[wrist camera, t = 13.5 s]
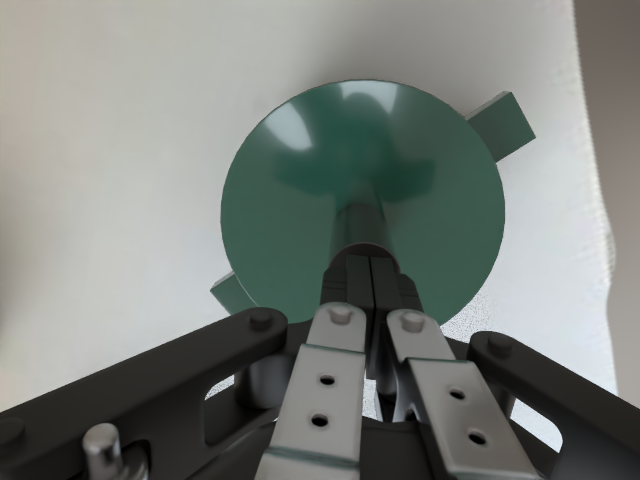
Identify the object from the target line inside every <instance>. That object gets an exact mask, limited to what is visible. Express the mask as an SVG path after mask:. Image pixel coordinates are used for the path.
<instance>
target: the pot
mask: <svg viewBox="0 0 640 480" xmlns="http://www.w3.org/2000/svg"><path fill="white" fill-rule="evenodd" d="M464 118H465V119H466V120H467V121H468V122H469V123H470V124H471V126H472V127H473V128H474V129H475V130H476V131H477V132H478V134H479V135H480V137H481V138H482V140H483V141H484V142H485V144H486V145H487V147H488V149H489V151H490V153H491V155H492V157H493V159H494V161H495V163H496V162H498V161H499V160H501V159H503V158H504V157H506V156H507V155H509V154H511V153H512V152H514V151H516V150H517V149H519V148H520V147H522V146H524V145H525V144H527V143H528V142H530V141H532V140H533V139H535V138H536V136H535V134H534V133H533V131H532V129H531V127H530V125H529V123H528V121H527V119H526V118H525V116H524V114H523V112H522V110H521V108H520V106H519V104H518V102H517V101H516V99H515V97H514V95H513V93H512V92H507V91H503V92H502V93H500V94H499V95H497V96H496V97H494V98H493V99H491V100H490V101H488V102H487V103H485V104H484V105H482V106H481V107H479V108H478V109H476V110H474V111H473V112H471V113H470V114H468V115H467V116H465V117H464ZM210 292H211V293H212V294H213V295H214V296H215V298H216V299H217V300H218V301H219V302H220V303H221V305H222V306H223V307H224V308H225V309H226V310H227V312H228V313H229V314H230V315H233V314H236V313H238V312H241V311H243V310H246V309H249V308H254V307H258V306H257V305H256V304H255V303H254V302H253V301H252V300H251V299H250V297H249V296H248V295H247V293H246V292H245V290H244V289H243V288H242V286H241V285H240V283H239V281H238V279H237V278H236V276H235V274H234V272H233V271H232V272H230V273H229V274H227V275H226V276H224V277H223V278H221V279H220V280H218V281H217V282H215V283H214V285H213V286H212V288H211V289H210Z"/></svg>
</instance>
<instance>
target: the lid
mask: <svg viewBox="0 0 640 480" xmlns="http://www.w3.org/2000/svg"><path fill="white" fill-rule="evenodd" d="M220 222H221V231H222V239H223V243H224V247H225V251H226V255H227V258H228V260H229V263H230V265H231V268H232V270H233V272H234V274H235V276H236V278H237V279H238V281H239V283H240V285H241V286H242V288H243V289H244V290H245V292H246V293H247V295H248V296H249V297H250V299H251V300H252V301H253V302H254V303H255V304H256V305H257V306H258V307H267V308H273V309H276V310H278V311H280V312H282V313H283V314H285V315H286V317H287V319H288V324H290V323H300V322H304V321H307V320H310V319H312V318H313V317H314V315H315V311H316V309H317V308H318V307H319V305H320V297H321V289H322V281H323V274H324V272H325V271H326V270H327V269H328V268H330V267H340V268H345V266H346V258H347V254H348V255H358V256H368V258H369V257H379V258H389V259H391V260H392V264H393V268H394V272H395V273H400V274H406V275H407V276H408V277H410V278H411V279H412V280H413V281H414V283H415V286H416V289H417V292H418V295H419V298H420V301H421V304H422V307H423V310H424V313H425V314H428V315H429V316H431V317H432V318H434V319H435V320H436V322H437V323H438V325H439V326H441V325H443V324H444V323H446V322H447V321H449V320H450V319H451V318H452V317H454V316H455V315H456V314H457V313H459V312H460V311H461V310H462V309H463V308H464V307H465V306H466V305H467V304H468V303H469V302H470V301H471V300H472V299H473V297H474V296H475V295H476V293H477V292H478V291H479V290H480V288H481V287H482V285H483V284H484V282H485V280H486V279H487V277H488V275H489V274H490V272H491V270H492V268H493V265H494V263H495V261H496V258H497V256H498V253H499V249H500V245H501V242H502V238H503V231H504V224H505V199H504V193H503V186H502V181H501V178H500V175H499V172H498V169H497V165H496V163H495V161H494V159H493V157H492V155H491V153H490V151H489V149H488V147H487V145H486V144H485V142H484V141H483V140H482V138H481V137H480V135H479V134H478V132H477V131H476V130H475V129H474V128H473V127H472V126H471V124H470V123H469V122H468V121H467V120H466V119H465V118H464V117H463V116H462V115H460V114H459V113H458V112H457V111H456V110H454V109H453V108H452V107H451V106H449V105H448V104H446V103H445V102H443V101H441V100H440V99H438V98H436V97H435V96H433V95H431V94H429V93H427V92H424V91H422V90H419V89H417V88H415V87H412V86H409V85H405V84H401V83H397V82H393V81H385V80H376V79H350V80H344V81H338V82H332V83H328V84H325V85H322V86H318V87H315V88H312V89H309V90H307V91H305V92H303V93H301V94H299V95H297V96H294V97H292V98H291V99H289V100H288V101H286V102H284V103H283V104H281V105H280V106H278V107H277V108H275V109H274V110H273V111H272V112H271V113H269V114H268V115H267V116H266V117H265V118H264V119H263V120H261V121H260V122H259V123H258V125H257V126H256V127H255V128H254V129H253V130H252V132H251V133H250V134H249V135H248V136H247V138H246V139H245V141H244V142H243V144H242V145H241V147H240V148H239V150H238V151H237V153H236V155H235V157H234V160H233V162H232V164H231V166H230V168H229V171H228V174H227V177H226V181H225V184H224V188H223V194H222V200H221V220H220Z"/></svg>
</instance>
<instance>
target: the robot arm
mask: <svg viewBox="0 0 640 480" xmlns="http://www.w3.org/2000/svg"><path fill="white" fill-rule="evenodd" d="M365 368H366V379H371V380H376V389H375V395H374V405H375V410H376V415H377V420H375V419H372V418H368V417H365V416H362V405H363V389H364V374H365ZM232 375H234V384H233V385H231V386H229V387H228V388H226V389H224V390H222V391H221V392H219V393H217V394H215V395H213V396H212V397H210V398H208V399H206V400H205V397H206V395H207V393H208V392H209V390H210V389H211V388H212V387H213V386H214V385H216V384H217V383H219V382H221V381H223V380H224V379H226V378H228V377H230V376H232ZM516 398H517V399H519V400H520V401H522V402H523V403H525V404H526V405H528V406H529V407H531V408H532V409H534V410H535V411H537V412H538V413H540V414H541V415H543V416H544V417H545V418H547V419H548V420H550V421H551V422H553V423H554V424H555V425H556V427H557V428H558V429H559V431H560V433H561V435H562V439H563V443H562V447H561V449H560V452H559V453H557V452H556V451H555V450H553V449H552V448H550V447H549V446H548V445H546V444H545V443H544V442H542V441H541V440H539V439H538V438H537V437H535V436H534V435H532V434H531V433H530V432H528V431H527V430H526V429H524V428H523V427H521V426H520V425H519V424H517V423H516V422H515V421H513V420H512V419H510V416H511V413H512V410H513V406H514V403H515V400H516ZM204 400H205V401H204ZM276 418H278V419H277V421H274V420H275V419H276ZM272 421H273V422H272ZM0 480H640V409H639V408H637V407H635V406H633V405H631V404H630V403H628V402H626V401H624V400H623V399H621V398H619V397H617V396H615V395H614V394H612V393H610V392H608V391H606V390H605V389H603V388H601V387H599V386H598V385H596V384H594V383H592V382H590V381H589V380H587V379H585V378H583V377H582V376H580V375H578V374H576V373H574V372H573V371H571V370H569V369H567V368H565V367H564V366H562V365H560V364H558V363H557V362H555V361H553V360H551V359H549V358H548V357H546V356H544V355H542V354H541V353H539V352H537V351H535V350H533V349H532V348H530V347H528V346H526V345H524V344H523V343H521V342H519V341H517V340H516V339H514V338H512V337H510V336H507V335H505V334H502V333H498V332H493V331H479V332H476V333H474V334H473V335H472V336H471V338H470V342H469V344H468V343H465V342H461V341H458V340H454V339H451V338H448V337H446V336H444V335H443V333H442V331H441V329H440V327H439V325H438V323H437V322H436V320H435V319H434V318H432V317H431V316H429V315H428V314H425V313H424V310H423V307H422V304H421V301H420V298H419V295H418V292H417V289H416V286H415V283H414V281H413V280H412V279H411V278H410V277H408V276H407V275H406V274H400V273H395V272H394V268H393V264H392V260H391V259H389V258H379V257H369V258H368V256H358V255H348V254H347V258H346V266H345V268H340V267H330V268H328V269H327V270H326V271H325V272H324V274H323V281H322V289H321V297H320V305H319V307H318V308H317V309H316V311H315V315H314V317H313V318H312V319H310V320H307V321H304V322H300V323H290V324H288V319H287V317H286V315H285V314H283V313H282V312H280V311H278V310H276V309H273V308H267V307H254V308H249V309H246V310H243V311H241V312H238V313H236V314H233V315H231V316H229V317H226V318H224V319H222V320H219V321H217V322H214V323H212V324H210V325H207V326H205V327H203V328H200V329H198V330H195V331H193V332H191V333H188V334H186V335H184V336H181V337H179V338H176V339H174V340H172V341H169V342H167V343H165V344H162V345H160V346H157V347H155V348H153V349H150V350H148V351H146V352H143V353H141V354H138V355H136V356H134V357H131V358H129V359H127V360H124V361H122V362H119V363H117V364H115V365H112V366H110V367H108V368H105V369H103V370H100V371H98V372H96V373H93V374H91V375H89V376H86V377H84V378H81V379H79V380H77V381H74V382H72V383H70V384H67V385H65V386H62V387H60V388H58V389H55V390H53V391H51V392H48V393H46V394H43V395H41V396H39V397H36V398H34V399H32V400H29V401H27V402H24V403H22V404H20V405H17V406H15V407H13V408H10V409H8V410H5V411H3V412H1V413H0Z"/></svg>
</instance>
